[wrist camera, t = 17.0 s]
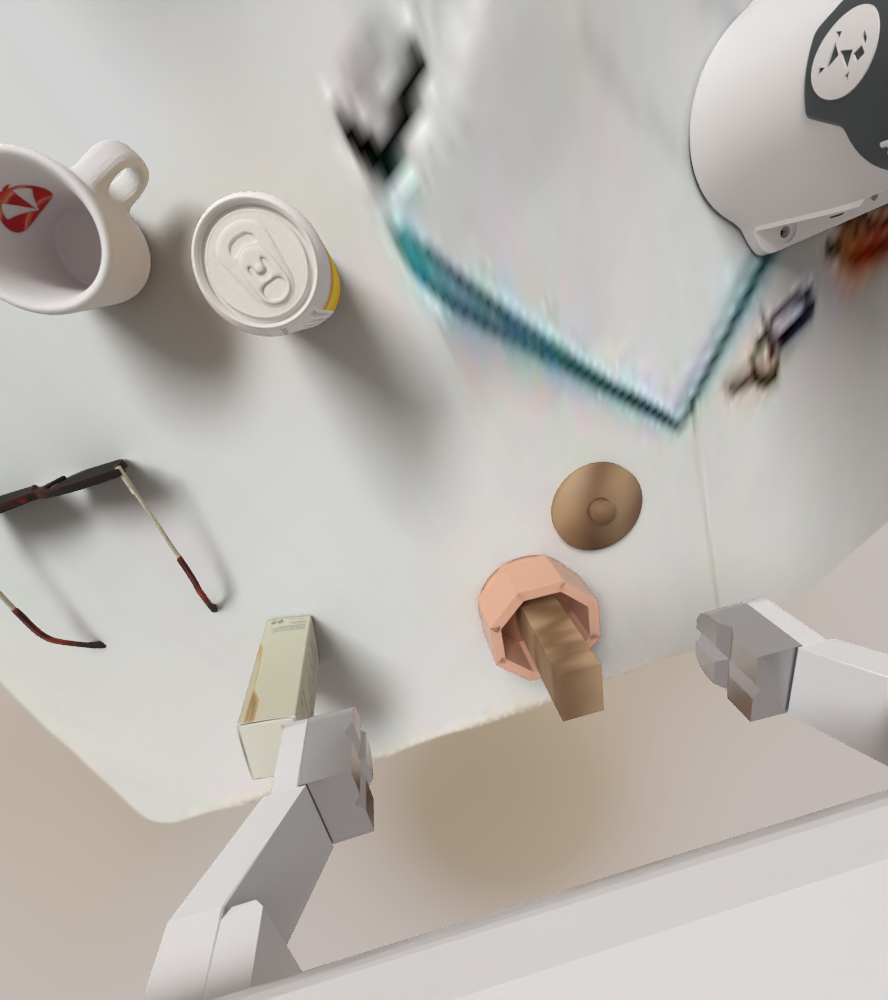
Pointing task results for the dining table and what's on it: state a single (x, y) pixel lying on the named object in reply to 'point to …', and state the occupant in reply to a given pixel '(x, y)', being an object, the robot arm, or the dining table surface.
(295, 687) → the skincare box
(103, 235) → the cup
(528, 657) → the jar
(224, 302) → the beer can
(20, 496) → the sunglasses
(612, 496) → the jar lid
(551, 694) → the brown wooden block
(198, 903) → the robot arm
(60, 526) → the dining table surface
